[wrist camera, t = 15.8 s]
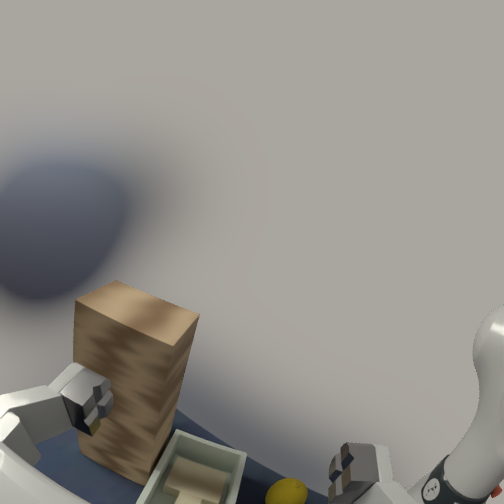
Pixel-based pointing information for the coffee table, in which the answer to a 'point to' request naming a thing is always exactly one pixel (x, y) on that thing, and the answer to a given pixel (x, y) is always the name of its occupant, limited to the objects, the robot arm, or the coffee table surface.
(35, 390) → the robot arm
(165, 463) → the bin
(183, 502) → the t-shaped wooden piece
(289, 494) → the lemon
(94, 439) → the stand
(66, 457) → the coffee table surface
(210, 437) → the coffee table surface
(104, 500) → the coffee table surface
